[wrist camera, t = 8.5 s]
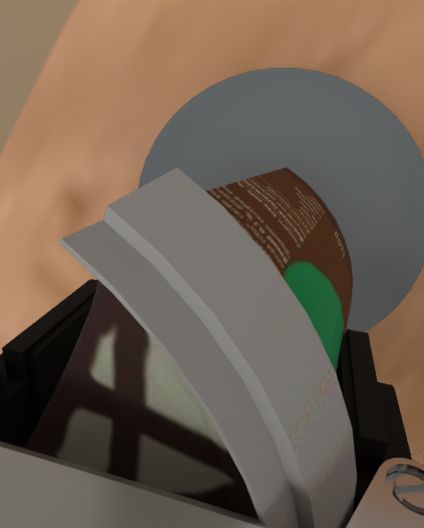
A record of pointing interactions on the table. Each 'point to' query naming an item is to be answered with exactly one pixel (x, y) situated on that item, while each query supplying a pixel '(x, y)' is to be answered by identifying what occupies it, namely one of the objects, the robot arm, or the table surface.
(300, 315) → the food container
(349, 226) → the slate dish
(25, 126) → the table surface
